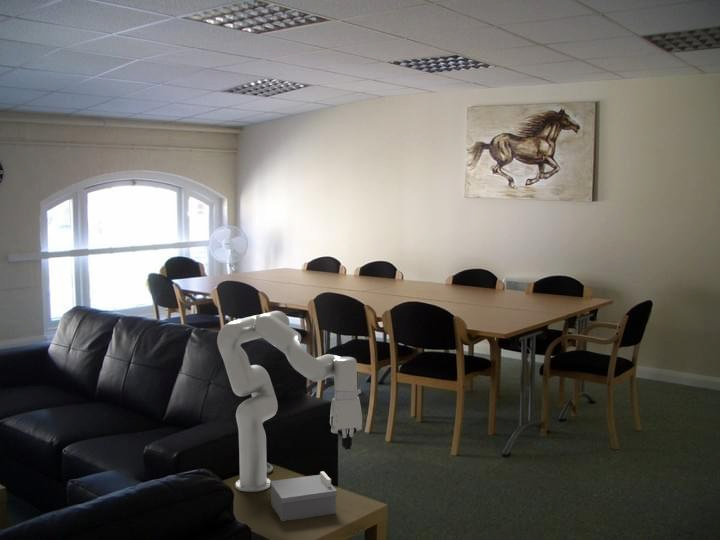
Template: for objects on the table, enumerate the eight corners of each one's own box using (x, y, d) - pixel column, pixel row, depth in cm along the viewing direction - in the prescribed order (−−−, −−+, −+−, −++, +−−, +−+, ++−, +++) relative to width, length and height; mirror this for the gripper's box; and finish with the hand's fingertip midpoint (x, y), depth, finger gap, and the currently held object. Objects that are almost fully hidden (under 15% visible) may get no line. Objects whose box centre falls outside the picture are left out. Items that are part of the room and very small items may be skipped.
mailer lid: (270, 485, 250) (269, 474, 250) (322, 478, 257) (322, 467, 256) (281, 503, 236) (281, 490, 235) (337, 495, 242) (336, 483, 242)
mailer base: (271, 505, 250) (271, 484, 250) (322, 497, 256) (322, 477, 256) (281, 521, 237) (281, 500, 237) (335, 513, 243) (335, 492, 243)
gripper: (363, 389, 255) (363, 442, 256) (321, 394, 250) (322, 447, 251) (370, 394, 248) (371, 448, 249) (327, 399, 243) (329, 454, 244)
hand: (346, 448), depth 250 cm, fingers closed
